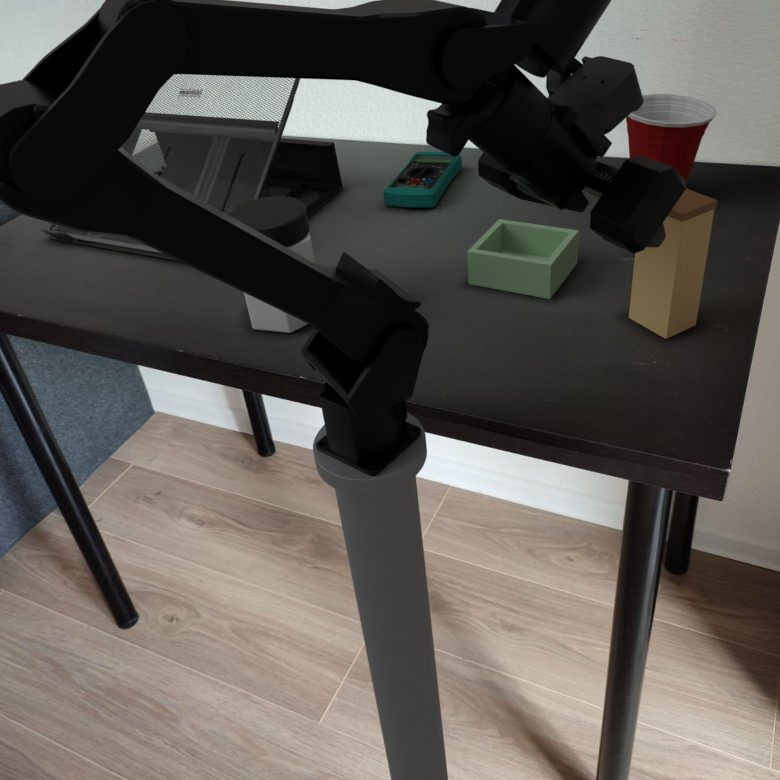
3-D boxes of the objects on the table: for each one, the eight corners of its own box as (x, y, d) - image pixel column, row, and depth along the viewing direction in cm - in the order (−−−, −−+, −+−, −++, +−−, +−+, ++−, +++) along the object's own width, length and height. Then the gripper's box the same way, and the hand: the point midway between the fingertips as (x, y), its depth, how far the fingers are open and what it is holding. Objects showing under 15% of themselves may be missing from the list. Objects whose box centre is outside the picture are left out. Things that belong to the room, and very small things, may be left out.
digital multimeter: (382, 209, 106) (380, 188, 104) (416, 168, 117) (414, 148, 115) (433, 212, 103) (432, 191, 101) (463, 169, 114) (462, 150, 112)
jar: (247, 300, 89) (224, 202, 82) (318, 287, 90) (300, 189, 82) (252, 341, 82) (226, 237, 74) (328, 326, 82) (310, 222, 75)
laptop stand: (41, 243, 107) (-12, 110, 97) (172, 169, 127) (139, 51, 116) (232, 277, 94) (194, 126, 83) (346, 188, 113) (327, 55, 102)
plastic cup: (701, 220, 94) (716, 120, 87) (609, 214, 97) (616, 118, 90) (705, 185, 102) (720, 91, 94) (620, 181, 105) (628, 90, 98)
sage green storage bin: (550, 299, 82) (551, 265, 80) (468, 284, 87) (466, 251, 84) (577, 263, 88) (579, 230, 86) (499, 250, 92) (498, 218, 90)
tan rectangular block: (666, 340, 74) (683, 213, 67) (627, 317, 78) (639, 195, 70) (697, 325, 76) (718, 200, 68) (657, 304, 80) (672, 183, 72)
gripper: (683, 49, 49) (771, 171, 59) (503, 12, 62) (600, 117, 72) (580, 203, 50) (682, 295, 61) (427, 135, 64) (532, 220, 74)
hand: (621, 223), depth 67 cm, fingers open, 9 cm apart
